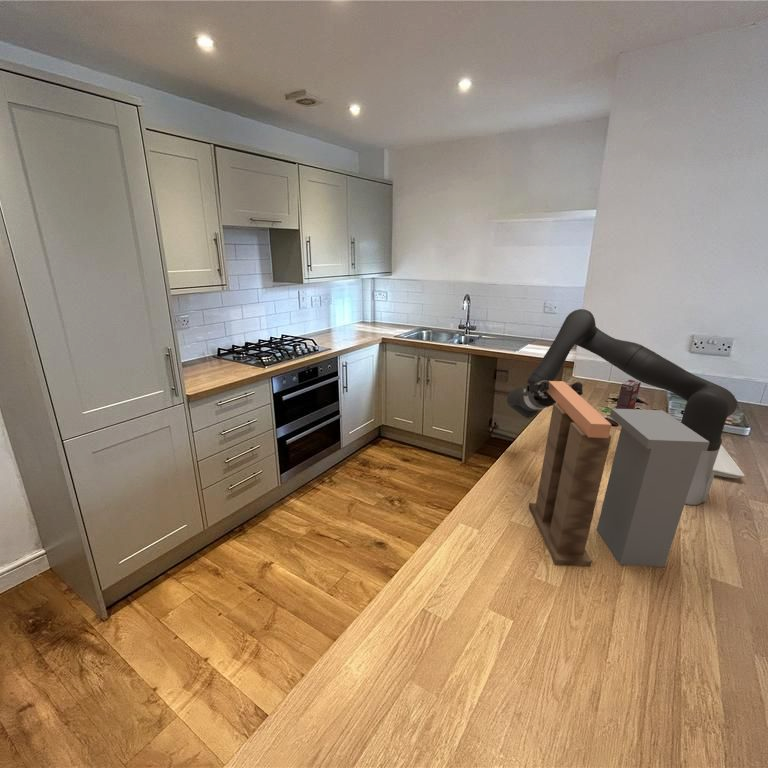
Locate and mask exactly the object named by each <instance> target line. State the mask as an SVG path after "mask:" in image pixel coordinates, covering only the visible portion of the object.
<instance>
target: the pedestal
mask: <svg viewBox="0 0 768 768" xmlns="http://www.w3.org/2000/svg"><path fill="white" fill-rule="evenodd" d="M609 417H610V418H611V419H612V420H614V421H615V422H616V424H618V425H619V426H620V427H621V428H620V431H619V435H618V440H617V444H616V449H615V452H614V456H613V459H612V460H613V461H612V464H611V468H610V472H609V473H610V474H609V476H608V481H607V486H606V488H605V489H606V490H605V494H604V497H603V501H602V506H601V511H600V513H599V514H600V515H599V519H598V522H597V526H596V531H597V533H598V534H599V535H600V537H601V539H602V540H603V542H604V543H605V545H606V546H607V548H608V549H609V551H610V553H611V554H612V556H613V557H614V558H615V560H616V561H617V563H618V564H619V565H620V566H632V567H633V566H634V567H636V566H637V567H654V568H655V567H657V568H658V567H659V568H665V567H666V564H667V560H668V557H669V555H670V551H671V548H672V545H673V542H674V539H675V535H676V533H677V529H678V526H679V523H680V520H681V516H682V513H683V510H684V507H685V505H686V504H685V502H686V498H687V495H688V492H689V489H690V486H691V483H692V480H693V477H694V474H695V470H696V467H697V464H698V461H699V458H700V455H701V452H702V451H707V449H708V446H709V443H710V442H709V441H707V440H706V439H704V438H703V437H701V436H700V435H698V434H697V433H696V432H694V431H693V430H691V429H690V428H688V427H687V426H685V425H684V424H682V423H681V421H679V420H678V419H676V418H675V417H673V416H672V415H670V414H669V413H668V412H665V411H664V410H661V409H659V410H658V409H636V408H634V409H616V408H611V410H610V413H609Z"/></svg>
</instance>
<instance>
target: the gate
mask: <svg viewBox="0 0 768 768" xmlns="http://www.w3.org/2000/svg"><path fill="white" fill-rule="evenodd" d="M611 440H612V435H611V434H609V438H595V437H588V436H587V435H586V434H585V433H584V432H583V431H582V430H581V429H580V427H579V426H578V425H577V424H576V423H575V422H574V421H573V420H572V419H571V418H570V417H569V415H568V414H567V413H566V412H565V411H564V410H563V409H562V408H561V407H560V406H559V405H558V403H557V402H556V403H554V404H553V405H552V410H551V415H550V422H549V427H548V433H547V440H546V443H545V444H546V445H545V450H544V456H543V462H542V468H541V474H540V480H539V485H538V489H537V496H536V501H535V502H529V504H528V509H529V512H530V514H531V516H532V518H533V520H534V523H535V524H536V527H537V529H538V532H539V533H540V535H541V537H542V539H543V540H542V541H543V542H544V544H545V546H546V548H547V549H546V550H547V551H548V553H549V555H550V557H551V559H552V561H553V563H554V564H553V565H555V566H568V567H569V566H571V567H572V566H573V567H588V568H591V567H592V564H593V563H592V562H593V561H592V558H590V555H589V554H588V552H587V550H586V546H587V542H588V538H589V534H590V531H591V527H592V526H591V525H592V520H593V517H594V513H595V509H596V504H597V500H598V495H599V491H600V486H601V483H602V478H603V474H604V470H605V466H606V461H607V457H608V453H609V449H610V443H611Z"/></svg>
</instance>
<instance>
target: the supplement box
mask: <svg viewBox="0 0 768 768" xmlns="http://www.w3.org/2000/svg"><path fill="white" fill-rule="evenodd" d="M641 383H642V382H641V381H638V380H634V379H628V380H626V381H625V382H623V383H621V386H620V390H619V393H618V400H617V403H616V407H615V409H635V406H636V403H637V398H638V395H639V391H640V387H641Z"/></svg>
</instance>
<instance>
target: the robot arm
mask: <svg viewBox="0 0 768 768" xmlns="http://www.w3.org/2000/svg"><path fill="white" fill-rule="evenodd" d="M575 345H576V346H577V347H579V348H582V349H584V350H586V351H589V352H591V353H593V354H595V355H597V357H598V356H599V357H600V358H602V359H603V360H604V361H606V362H607V363H609V364H611V365H612V366H614V367H615V368H617V369H619V370H620V371H621V372H623V373H625V374H626V375H629V376H630V377H631V378H632V379H635V380H636V381H638V382H641V383H644V384H646V385H647V386H652V387H654V388H658V389H662V390H665V391H668V392H670V393H672V394H675V395H677V396H678V397H679V398H681V399H683V400H685V401H686V404H685V407H684V410H683V414H682V418H681V421H680V422H681V423H682V424H684V425H685V426H687V427H688V428H690V429H691V430H693V431H694V432H696V433H697V434H698V435H700V436H701V437H703V438H704V439H706V440H707V441H709V442H710V443H709V446H708V449H707V451H702V452H701V455H700V458H699V461H698V464H697V467H696V470H695V474H694V477H693V480H692V483H691V486H690V489H689V492H688V495H687V498H686V502H685V505H690V506H691V505H692V506H697V505H700V504H701V503H706V501H707V498H708V495H709V492H710V490H711V487H712V483H713V481H714V477H715V476H716V475H715V474H714V472H712V470H713V467H714V464H715V461H716V458H717V455H718V452H719V449H720V446H721V445H722V442H723V439H722V434H723V431H724V428H725V424H726V422H727V419H728V418H729V417H730V416H731V415H733V414H734V413H735V412H736V410H737V407H738V401H737V398H736V396H735V395H734V394H733V393H732V392H731V391H730V390H729V389H727V388H725V387H723V386H721V385H719V384H716V383H713V382H712V381H709V380H707V379H704V378H703V377H700V376H698V375H696V374H693V373H692V372H689V370H688V371H687V370H686V369H684V368H683V367H681V366H679V365H678V364H676V363H674V362H672V361H670V360H669V359H667V358H665V357H663V356H662V355H660V354H658V352H655V351H653V350H651V349H650V348H647V347H646V346H644V345H642V344H639V343H637V342H631V341H628V340H621V339H617V338H615V337H613V336H611V335H609V334H607V333H605V332H604V331H602V330H600V329H599V328H598V327H597V326H596V320H595V317H594V315H593V313H592V312H591V311H589V310H587V309H583V308H580V309H575V310H574V311H572V312H569V313H568V315H567V316H566V317H565V320H564V321H563V323H562V325H561V327H560V328H559V331H558V333H557V334H556V337H555V338H554V341H553V342H552V343H551V345H550V347H549V348H548V349H547V351H546V353H545V354H544V356H543V358H542V359H541V360H540V362H539V363H538V364H537V366H536V367H535V368H534V370H533V371H532V372H531V373H530V375H529V376H528V378H527V379H526V383H527V384H526V385H524V386H520V387H516V388H514V389H512V390H511V391H510V392H509V393H508V394H507V397H506V403H507V405H508V406H509V407H510V408H511V409H513V410H514V411H516V412H517V413H519V415H520V416H522V417H523V418H525V419H532V418H534V417H536V415H537V414H538V413H539V410H543V409H546V408H549V407H553V404H554V403H557V402H556V401H555V400H554V399H553V398H552V397H551V396H550V395H549V394H548V392H547V390H549V381H556V379H557V377H558V376H559V374H560V372H561V371H562V368H563V366H564V364H565V361H566V360H567V357H569V354H570V352H571V351H572V349H573V348H574V346H575ZM566 384H567V385H569V386H570V387H571V388H572V389H573V390H574V391H575V392H576V393H577V394H578V395H580V396H582V395H583V394H584V392H583V384H582V382H580V381H577V382H574V383H571V384H569V383H566Z"/></svg>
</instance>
